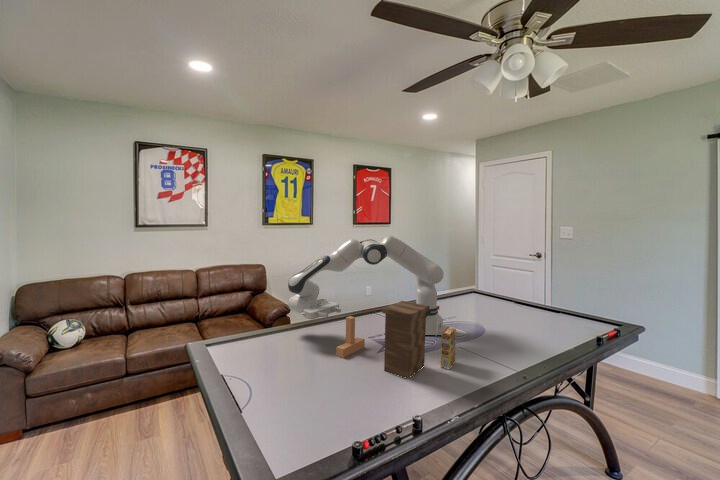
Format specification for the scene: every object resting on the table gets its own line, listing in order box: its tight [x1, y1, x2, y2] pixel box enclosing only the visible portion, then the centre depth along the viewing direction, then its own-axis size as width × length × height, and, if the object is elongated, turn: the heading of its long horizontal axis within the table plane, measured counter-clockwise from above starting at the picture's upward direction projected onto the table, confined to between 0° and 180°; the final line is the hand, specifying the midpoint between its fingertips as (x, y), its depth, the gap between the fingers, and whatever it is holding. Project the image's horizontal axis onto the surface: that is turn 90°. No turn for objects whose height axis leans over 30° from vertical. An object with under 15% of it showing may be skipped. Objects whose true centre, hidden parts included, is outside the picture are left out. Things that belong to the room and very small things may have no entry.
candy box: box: [440, 326, 457, 369], centre depth 143 cm, size 9×4×15 cm, turn 150°
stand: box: [381, 300, 429, 379], centre depth 138 cm, size 16×13×26 cm
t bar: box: [335, 315, 366, 359], centre depth 155 cm, size 16×16×4 cm
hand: (333, 313), depth 161 cm, fingers open, 8 cm apart
